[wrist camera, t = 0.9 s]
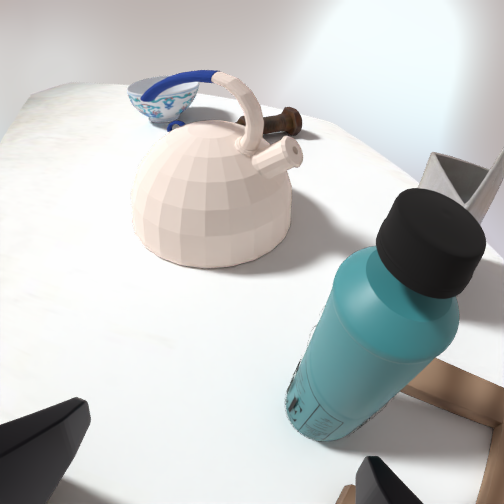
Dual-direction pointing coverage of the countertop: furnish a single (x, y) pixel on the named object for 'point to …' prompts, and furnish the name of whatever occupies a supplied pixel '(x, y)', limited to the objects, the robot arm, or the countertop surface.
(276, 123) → the bolt
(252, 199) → the kettle
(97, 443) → the countertop surface
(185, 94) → the chinaware
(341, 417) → the beverage bottle
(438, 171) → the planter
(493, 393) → the notched board
